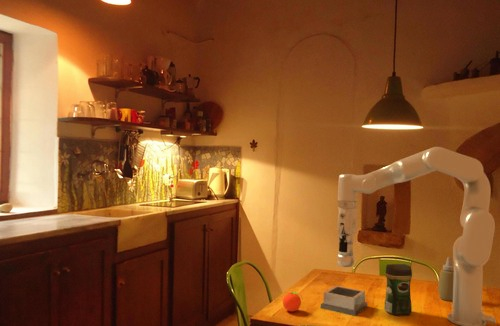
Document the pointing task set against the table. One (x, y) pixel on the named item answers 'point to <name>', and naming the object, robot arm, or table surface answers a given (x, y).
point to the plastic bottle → (347, 257)
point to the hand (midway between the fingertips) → (345, 250)
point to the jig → (344, 300)
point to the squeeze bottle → (446, 281)
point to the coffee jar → (398, 289)
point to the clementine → (291, 302)
